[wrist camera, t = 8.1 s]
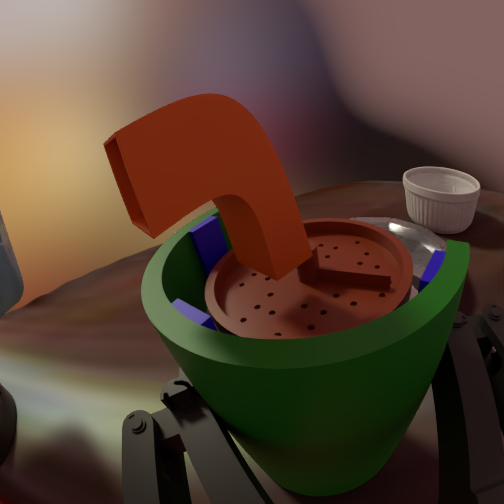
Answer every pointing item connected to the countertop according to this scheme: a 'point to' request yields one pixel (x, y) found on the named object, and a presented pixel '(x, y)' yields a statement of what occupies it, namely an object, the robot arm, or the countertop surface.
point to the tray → (411, 240)
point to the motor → (281, 298)
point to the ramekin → (441, 198)
